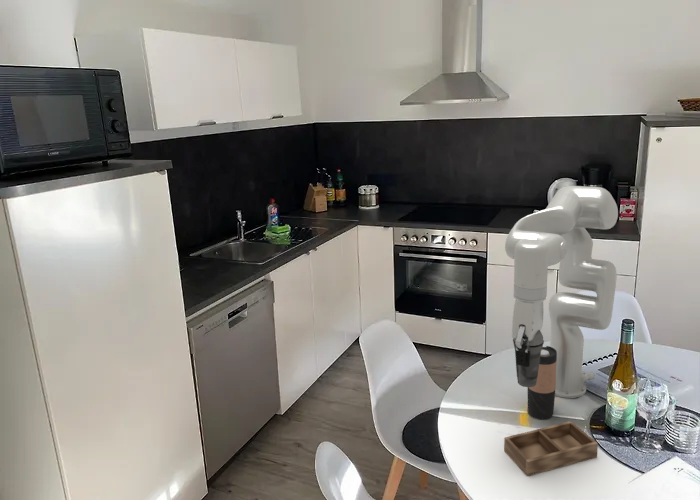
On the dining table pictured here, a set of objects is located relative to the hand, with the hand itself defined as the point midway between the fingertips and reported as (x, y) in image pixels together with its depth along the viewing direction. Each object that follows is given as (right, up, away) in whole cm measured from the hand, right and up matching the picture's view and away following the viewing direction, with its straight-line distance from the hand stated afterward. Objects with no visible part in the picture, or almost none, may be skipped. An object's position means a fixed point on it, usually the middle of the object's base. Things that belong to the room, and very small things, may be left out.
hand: (527, 358), depth 138 cm
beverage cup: (0, -7, +2) cm, 7 cm away
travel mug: (+12, -21, +25) cm, 35 cm away
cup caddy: (+8, -26, +7) cm, 28 cm away
